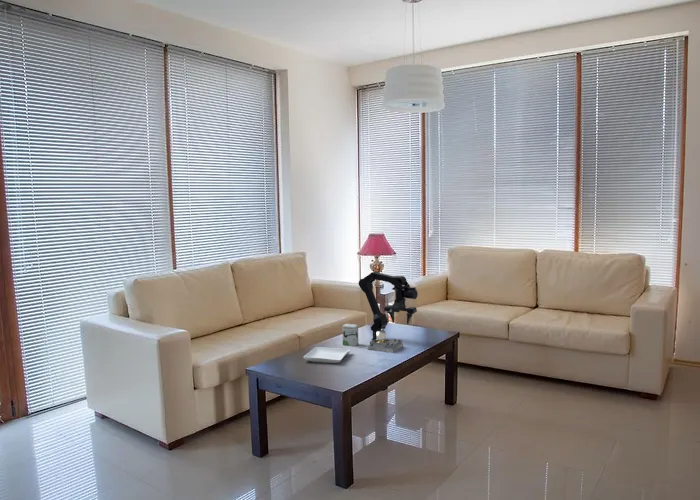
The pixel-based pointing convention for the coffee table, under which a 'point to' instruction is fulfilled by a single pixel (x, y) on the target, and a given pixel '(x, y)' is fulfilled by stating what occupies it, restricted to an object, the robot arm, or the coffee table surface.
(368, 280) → the robot arm
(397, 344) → the gearbox
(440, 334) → the coffee table surface
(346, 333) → the ink box
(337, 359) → the salad plate
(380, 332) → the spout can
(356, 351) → the coffee table surface
